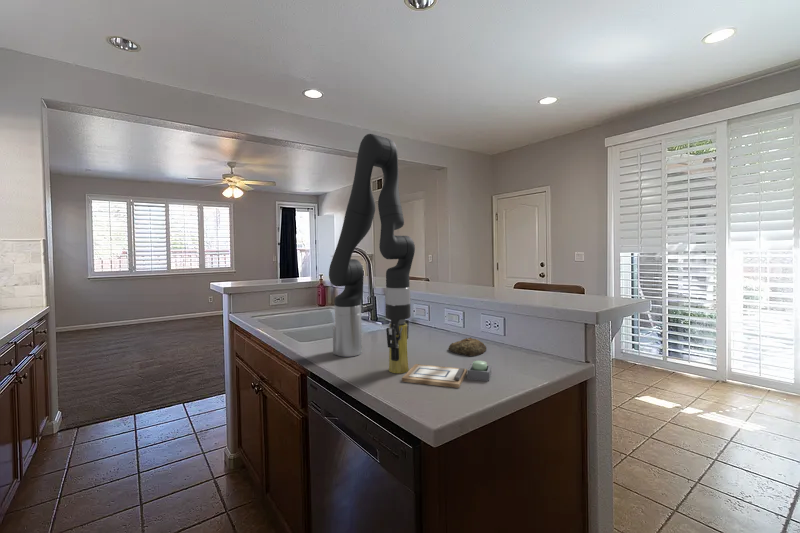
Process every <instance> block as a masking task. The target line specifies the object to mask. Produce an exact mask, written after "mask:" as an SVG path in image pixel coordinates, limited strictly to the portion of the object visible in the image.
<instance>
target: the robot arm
mask: <svg viewBox="0 0 800 533" xmlns="http://www.w3.org/2000/svg"><path fill="white" fill-rule="evenodd" d="M374 167H376V168H379V169H381V172H382V175H383V184H382V187H381V190H380V193H379V196H378V201H377V208H378V214H379V220H380V237H379V244H378V245H379V252H380V254H381V256H382V258H384V259H386V260H397V262H396V264H395V266H392V267H389V268H388V269H386V272H385V281H386V282H385V294H384V296H385V297H384V299H385V318H386V319H387V320H390V323H391V325H390V324H389V325H390V328H389V327H387V328H386V330H385V331H386V342H387V348H388V349H389V348H391V360H392V361H398V360H399V342H400V341H401V339H402V330H403V326H402V327H401V329H400V331H399V326H401V325H406V324H407V340H409V331H410V330H409V328H410V320H408V319H410V318H411V317H412V316H411V315H412V314H411V313H412V312H411V290H410V273H411V269H412V265H413V261H414V256H415V250H416V246H415V245H416V244H415V242H414V240H413V238H412V237H410V236H408V235H395V234H394V232H395V231H396V230H399V229H401V228H402V227H404V225H405V219H404V218H405V217H404V213H403V209H402V202H401V197H400V187H399V186H400V185H399V183H400V182H399V154H398V148H397V145H396V143H395V141H394V140H392V139H391V138H387V137H384V136H382V135H381V136H379V135H377V134H374V133H367V134H366V135H364V136H363V138H362V139H361V141H360V144H359V147H358V151H357V158H356V165H355V172H354V176H353V182H352V187H351V191H350V195H349V199H348V202H347V206H346V211H345V214H344V217H343V224H342V228H341V230H340V233H339V234H340V235H339V239H338V242H337V245H336V248H335V251H334V254H333V255H332V258H331V262H330V264H329V267H328V268H329V269H328V278H329V282H330V284H332V285H333V286H334V287H344V288H343V289H344V290H343V291H341V293H340V294H338V295H337V296H335V297H334V326H333V327H332V355H336V356H339V357H354V356H355V357H356V356H359V355H361V354H363V352H362V350H363V349H362V348H363V346H362V339H363V338H362V298H363V296H364V268H363V265H362V263H361V261H360V260H358V259H355V258H352V255H353V253H354V251H355V249H356V248H357V246H358V245H359V244H360V243H361V242H362V240H363V239H364V238H365V237H366V235H367V234H368V232H369V231H370V229H371V228H372V224H373V220H374V217H375V213H376V202H375V198H374V194H373V191H372V185H371V180H372V175H373V174H372V172H373V168H374ZM405 323H406V324H405ZM398 334H399V337H396V335H398ZM390 340H391V341H390ZM396 340H397V341H396ZM393 341H394V344H393Z"/></svg>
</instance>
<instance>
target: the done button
mask: <svg viewBox="0 0 800 533" xmlns="http://www.w3.org/2000/svg"><path fill="white" fill-rule="evenodd" d="M487 363H488V362H487V361H484V360H474V361H472V364H473V370H478V371H487V365H488V364H487Z"/></svg>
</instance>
